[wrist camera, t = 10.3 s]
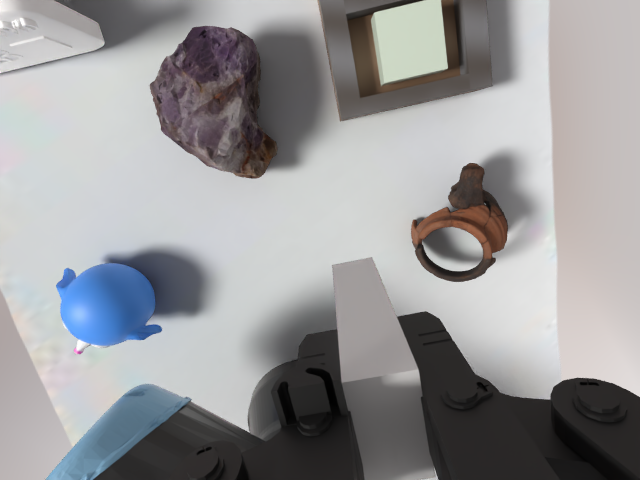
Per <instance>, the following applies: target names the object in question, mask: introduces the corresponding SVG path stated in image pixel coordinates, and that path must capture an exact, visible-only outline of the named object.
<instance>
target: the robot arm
mask: <svg viewBox="0 0 640 480" xmlns="http://www.w3.org/2000/svg"><path fill="white" fill-rule="evenodd" d="M332 268H333V280H334V293H335V306H336V318H337V329H336V330H330V331H325V332H320V333H314V334H309V335H307V336H306V337H305V339H304V340H303V341H302V343H301V344H300V346H299V353H298V360H297V361H292V362H288V363H285V364H282V365H280V366H278V367H276V368H274V369H273V370H271V371H270V372H268V373H267V374H266V375H265V376H264V377H263V378H262V379H261V380H260V381H259V383H258V384H257V386H256V388H255V390H254V392H253V395H252V398H251V402H250V406H249V411H248V426H249V431H250V433H249V432H247V431H245V430H243V429H241V428H239V427H237V426H236V425H234V424H232V423H230V422H228V421H226V420H224V419H222V418H221V417H219V416H217V415H215V414H213V413H211V412H209V411H208V410H206V409H204V408H202V407H200V406H198V405H196V404H194V403H193V402H191V400H192V399H190V398H189V397H185V398H183V397H181V396H178V395H176V394H174V393H172V392H170V391H167V390H165V389H163V388H161V387H159V386H156V385H153V384H143V385H139V386H137V387H135V388H133V389H131V390H130V391H128V392H127V393H125V394H124V395H123V396H122V397H121V398H120V399H119V400H118V401H117V402H115V403H114V404H113V405H112V406H111V407H110V408H109V409H108V410H107V411H106V412H105V413H104V414H103V415H102V417H101V418H100V419H99V420H98V421H97V422H96V423H95V424H94V425H93V426H92V427H91V428H90V429H89V430H88V431H87V433H86V434H85V435H84V436H83V437H82V438H81V439H80V440H79V441H78V442H77V444H76V445H75V446H74V447H73V448H72V449H71V450H70V452H68V454H67V455H66V456H65V457H64V458H63V459H62V461H61V462H60V463H59V464H58V465H57V466H56V467H55V469H54V470H53V471H52V472H51V473H50V475H49V476H48V477H47V478H46V480H421V479H427V478H433V477H435V471H434V467H435V470H436V473H437V476H438V479H439V480H640V397H639V396H637V395H635V394H633V393H631V392H630V391H628V390H626V389H623V388H621V387H619V386H617V385H615V384H613V383H609V382H605V381H601V380H597V379H589V378H574V379H569V380H564V381H562V382H560V383H559V384H557V385H556V386H554V388H553V390H552V393H551V396H550V397H551V400H544V399H530V398H520V397H513V396H509V395H505V394H502V393H500V392H499V391H498V389H497V388H496V387H495V386H493V385H492V384H491V383H490V382H489V381H488V380H486V379H484V378H482V377H480V376H477V375H475V373H474V372H473V370H472V369H471V367H470V366H469V364H468V363H467V361H466V359H465V358H464V356H463V355H462V353H461V352H460V350H459V349H458V347H457V346H456V344H455V342H454V341H452V338H451V336H450V335H449V333H448V332H447V331H446V328H445V327H444V325H443V324H442V322H441V321H440V319H439V318H437V317H435V316H434V315H432V314H430V313H428V312H427V311H425V312H420V313H415V314H409V315H404V316H399V317H397V316H396V314H395V311H394V309H393V307H392V304H391V302H390V299H389V297H388V295H387V292H386V290H385V287H384V285H383V283H382V280H381V278H380V275H379V273H378V270H377V268H376V266H375V263H374V261H373V258H372V257H371V258H366V259H361V260H356V261H351V262H346V263H341V264H336V265H332Z"/></svg>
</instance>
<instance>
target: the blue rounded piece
mask: <svg viewBox="0 0 640 480" xmlns="http://www.w3.org/2000/svg"><path fill="white" fill-rule="evenodd" d="M56 287H57V290H58V292H59V294H60V297H61V300H62V301H61V317H62V320H63V325H64V327H65V328H66V329H67V330H68V331H69V332H70V333H71V334H72V335H74V336H75V337H76V338H78V343H77V347H76V348H75V349H74V352H75V353H76V354H81V353H82V352H83V351H84V349H85V348H86V347H88V346H90V345H91V344H92V345H93V346H95V347H98V348H106V347H109V346H110V345H115V344H119V343H122V342H124V341H126V340H144V339H146V338H147V337H149V336H151V335H152V334H156V333H159V332H161V331H162V328H161V326H159V325H147V326H146V323H147V321H148V320H149V318H150V317H151V316H152V315H153V312H154V310H155V295H154V290H153V288H152V285H151V284H150V282H149V281H148V279H147V278H146V277H145V276H144V275H143V274H142V273H140V272H139V271H137V270H136V269H134V268H132V267H129V266H126V265H123V264H116V263H107V264H101V265H97V266H94V267H92V268H89V269H88V270H86V271H84V272H83V273H81V274H80V275H79V276H77V277H76V275H75V272H74V271H73V270H71V269H69V268H66V269H65V270H64V275H63V279H62V280H61V281H60V282H58V283H57V285H56Z"/></svg>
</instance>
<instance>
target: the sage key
mask: <svg viewBox="0 0 640 480" xmlns="http://www.w3.org/2000/svg"><path fill="white" fill-rule="evenodd" d="M371 24H372V31H373V37H374V44H375V50H376V57H377V63H378V70H379V76H380V83H381V86H384V85H388V84H393V83H397V82H401V81H406V80H410V79H414V78H419V77H423V76H428V75H432V74H436V73H441V72H442V71H444V70H446V69H448V65H447V55H446V46H445V36H444V26H443V17H442V7H441V0H424V1H420V2H416V3H412V4H408V5H403V6H399V7H395V8H391V9H387V10H383V11H379V12H375V13H374V14H373V16H372V19H371Z"/></svg>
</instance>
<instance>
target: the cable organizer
mask: <svg viewBox="0 0 640 480" xmlns="http://www.w3.org/2000/svg"><path fill="white" fill-rule="evenodd" d="M104 44H105V41H104V39H103V36H102V33H101V30H100V27H99V24H98V23H97V22H96V21H94V20H92V19H90V18H88V17H86V16H84V15H82V14H80V13H78V12H76V11H74V10H72V9H70V8H68V7H66V6H64V5H62V4H61V3H59V2H57V1H55V0H0V73H2V72H7V71H11V70H15V69H19V68H23V67H27V66H32V65H36V64H40V63H44V62H48V61H53V60H57V59H61V58H65V57H69V56H73V55H78V54H82V53H86V52H90V51H93V50H96V49H99V48H100V47H102V46H103V45H104Z"/></svg>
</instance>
